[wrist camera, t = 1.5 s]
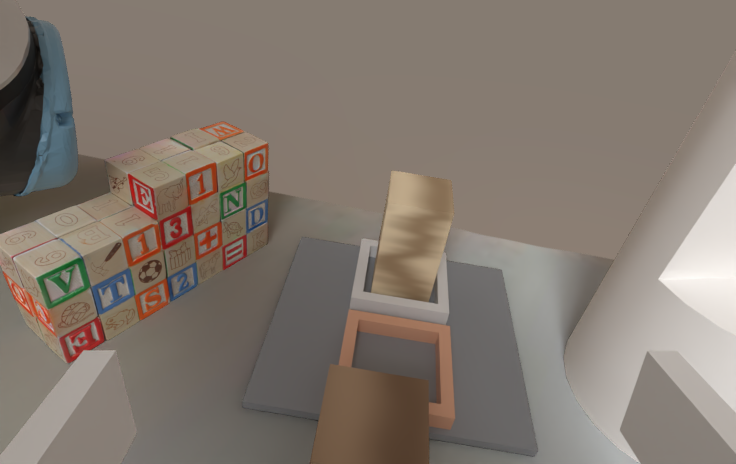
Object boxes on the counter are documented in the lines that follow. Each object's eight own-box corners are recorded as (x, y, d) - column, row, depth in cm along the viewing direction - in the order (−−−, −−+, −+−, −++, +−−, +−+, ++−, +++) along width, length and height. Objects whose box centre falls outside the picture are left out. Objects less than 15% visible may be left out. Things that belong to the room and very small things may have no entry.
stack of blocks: (68, 368, 36) (18, 242, 29) (25, 326, 38) (-31, 200, 31) (269, 243, 51) (270, 140, 44) (229, 219, 53) (223, 117, 46)
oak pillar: (369, 298, 45) (387, 202, 38) (374, 262, 49) (391, 170, 43) (426, 308, 45) (454, 213, 38) (426, 270, 49) (451, 180, 43)
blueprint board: (242, 407, 35) (241, 389, 34) (301, 242, 52) (302, 225, 50) (534, 456, 35) (545, 439, 34) (499, 275, 51) (505, 259, 50)
